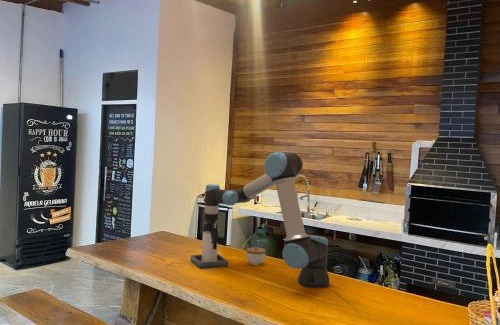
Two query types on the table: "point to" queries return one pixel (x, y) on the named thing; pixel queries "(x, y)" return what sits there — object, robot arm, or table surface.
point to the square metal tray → (219, 263)
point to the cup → (207, 248)
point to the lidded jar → (255, 255)
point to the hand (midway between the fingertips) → (209, 251)
